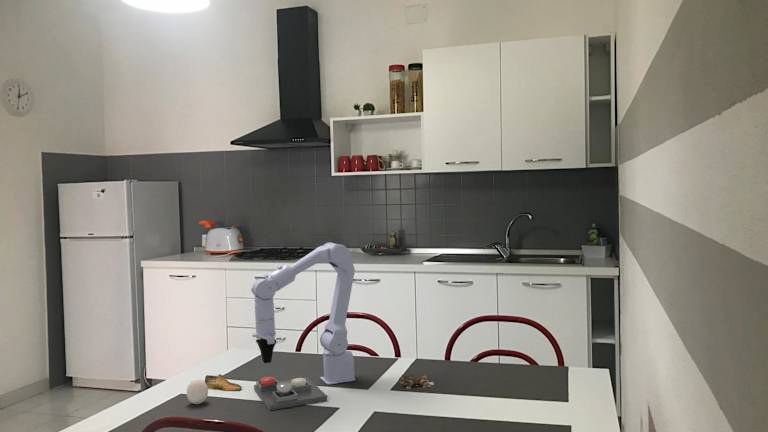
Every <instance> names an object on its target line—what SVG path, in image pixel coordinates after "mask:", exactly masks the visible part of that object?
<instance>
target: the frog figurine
mask: <svg viewBox="0 0 768 432" xmlns="http://www.w3.org/2000/svg"><path fill="white" fill-rule="evenodd" d="M398 380H399V383H400V385H407V386H406V387H405V389H406V390H409V389H413V387H420V386H422V388H429V387H431V386H433V385H434V384H435V383H434V381H431V382H430V380H429V379H428V376H427V374H426V375H425V374H424V375H422V376H420V377H417V376H416V375H413V374H409V375H405V374H401V376H399V379H398Z"/></svg>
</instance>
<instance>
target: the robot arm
mask: <svg viewBox="0 0 768 432" xmlns="http://www.w3.org/2000/svg"><path fill="white" fill-rule="evenodd" d="M319 263H320V264H323V263H324V264H329V265H330V266H332V268H333V269H334V271H336V274H337V275H336V281H335V285H334V290H333V291H334V292H333V297H332V302H331V307H330V311H329V319H328V322H327V323H326V324H325V326H324V330H323V331H322V333H321V334H320V337H319V343H320V345H321V346H322V348H323V351H322V357H323V363H322V364H323V376H320V377H319V379H320V380H322V382H324V383H325V384H326V385H328V386H329V385H335V384H341V383H347V382H354V381H356V377H355V359H354V355H353V353H352V351H351V350H347V349H348V347H349V346H348V345H349V341H348V330H347V327H346V321H347V316H348V315H347V314H348V310H349V305H350V300H351V293H352V289H353V283H354V277H355V272H356V271H355V266H354V263H353V259H352V252H351V251H350V250H349V249H348V247H346V245H344V244H339V243H334V242H331V241H330V242H329V241H328V242H326V243H324V244H323V245H320V246H318V247H316V248H315V249H314V250H312V251H311V252H309V253H308V254H306V255H305V256H303V257H302V258H300V259H299V260H297V261H296V262H295V263H293V264H291V265H287V264H286V265H285V264H284V265H278V266H277V269H276V270H274V271H272V272H271V273H270V274H267V273H266V274H265V275H263V277H264V278H258V279H256V280H255V281H254V282H253V284H252V287H251V290H250V291H251V293H252V294H253V296H254V314H255V315H254V317H255V319H254V320H255V333H251V334H252V337H253V338H257V339H255V342H256V344H257V346H258V348H259V351H260V354H261V359H262V362H263V363H264V364H269V363H272V359H273V355H274V354H273V352H274V350H275V346H276V344H277V340H276V338H275V337H276V335H277V331H276V324H275V322H276V321H275V303H274V296H275V295H276V292H278V291H280V290H282V289H283V288H285V287H287V286H288V285H291V283H293V282H295V279H296V277H297V275H299V274H301V273H303V272H304V271H306V270H308V269H309V268H311V267H313V266H315V265H317V264H319Z"/></svg>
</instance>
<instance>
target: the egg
mask: <svg viewBox="0 0 768 432" xmlns="http://www.w3.org/2000/svg"><path fill="white" fill-rule="evenodd" d="M208 395H209V388H208V387H207V385H206V383H205V380H203V379H202V378H199V377H196V378H193V379H191V381H189V384H188V385H187V388H186V397H187V399H188V401H189V402H190V403H192V404H194V405H200V404H202V403H204V402H205V400H206V399H208Z"/></svg>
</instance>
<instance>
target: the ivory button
mask: <svg viewBox="0 0 768 432" xmlns="http://www.w3.org/2000/svg"><path fill="white" fill-rule="evenodd" d="M291 379H292V380H291V383H292V387H298V386H304V385H306V379H304V378H302V377H297V378H296V377H295V378H291Z"/></svg>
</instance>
